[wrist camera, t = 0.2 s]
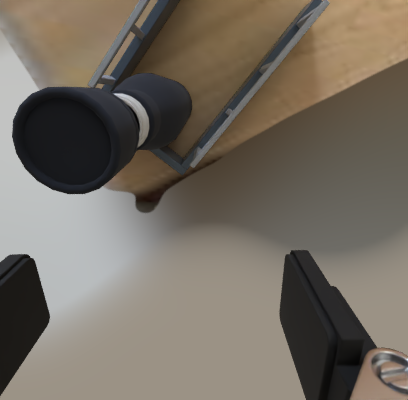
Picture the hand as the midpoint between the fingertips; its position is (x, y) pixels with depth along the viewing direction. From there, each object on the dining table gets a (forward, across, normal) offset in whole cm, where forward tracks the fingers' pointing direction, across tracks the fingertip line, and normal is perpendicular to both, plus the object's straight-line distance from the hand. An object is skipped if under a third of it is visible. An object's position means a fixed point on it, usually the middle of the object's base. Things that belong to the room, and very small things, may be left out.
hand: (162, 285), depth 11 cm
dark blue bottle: (+32, +3, -5) cm, 32 cm away
